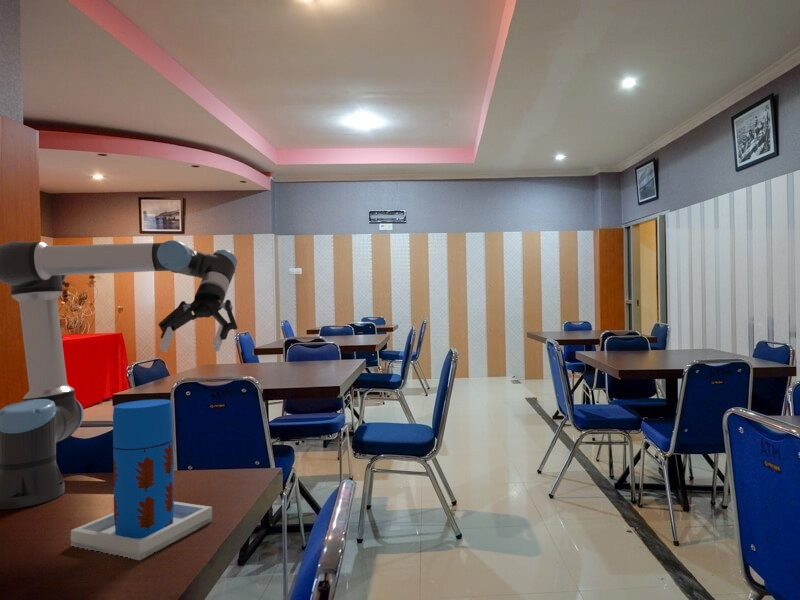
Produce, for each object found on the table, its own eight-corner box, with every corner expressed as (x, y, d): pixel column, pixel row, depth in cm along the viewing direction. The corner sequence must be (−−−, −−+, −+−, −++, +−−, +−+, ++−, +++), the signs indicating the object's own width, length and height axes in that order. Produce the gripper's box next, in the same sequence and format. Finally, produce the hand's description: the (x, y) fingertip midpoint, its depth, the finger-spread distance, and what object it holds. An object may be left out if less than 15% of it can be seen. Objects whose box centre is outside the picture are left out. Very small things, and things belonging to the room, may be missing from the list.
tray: (70, 546, 96) (70, 530, 97) (149, 511, 113) (148, 497, 113) (139, 560, 90) (139, 543, 90) (212, 521, 107) (211, 506, 107)
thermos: (184, 517, 106) (182, 398, 107) (155, 539, 96) (153, 408, 97) (136, 517, 107) (134, 399, 108) (101, 539, 97) (100, 408, 98)
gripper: (259, 300, 144) (241, 356, 129) (173, 302, 145) (146, 359, 129) (252, 280, 139) (234, 336, 123) (163, 283, 140) (134, 339, 124)
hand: (188, 348), depth 126 cm, fingers open, 13 cm apart
